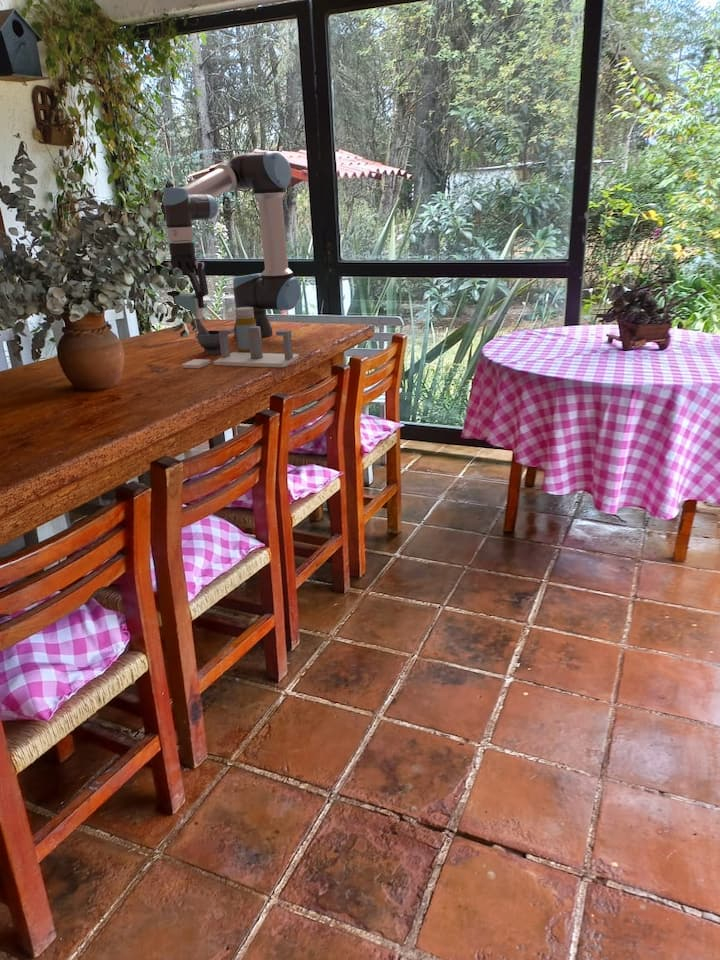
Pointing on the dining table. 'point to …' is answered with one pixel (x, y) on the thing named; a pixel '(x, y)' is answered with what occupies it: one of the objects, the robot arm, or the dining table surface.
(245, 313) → the bottle
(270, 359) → the white and grey stand
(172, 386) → the dining table surface
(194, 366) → the tile
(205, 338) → the mortar and pestle
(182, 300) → the teal cube with tabs
